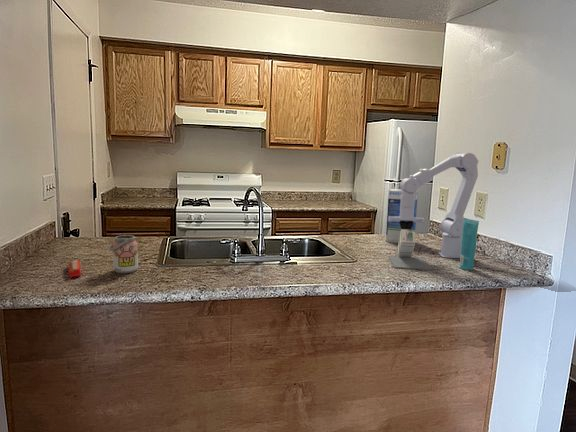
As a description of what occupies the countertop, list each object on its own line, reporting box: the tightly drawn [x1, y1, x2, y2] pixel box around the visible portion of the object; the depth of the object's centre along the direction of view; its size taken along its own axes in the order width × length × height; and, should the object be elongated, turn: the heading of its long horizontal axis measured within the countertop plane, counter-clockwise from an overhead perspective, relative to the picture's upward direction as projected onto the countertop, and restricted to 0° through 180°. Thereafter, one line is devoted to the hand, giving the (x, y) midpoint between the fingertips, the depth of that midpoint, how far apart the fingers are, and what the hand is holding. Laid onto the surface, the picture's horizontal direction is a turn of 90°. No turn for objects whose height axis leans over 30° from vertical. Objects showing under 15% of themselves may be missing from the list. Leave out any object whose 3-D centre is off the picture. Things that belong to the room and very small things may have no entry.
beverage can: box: [108, 234, 139, 274], centre depth 140 cm, size 9×8×12 cm
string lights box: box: [385, 188, 419, 244], centre depth 198 cm, size 13×8×26 cm, turn 66°
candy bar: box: [68, 259, 82, 278], centre depth 138 cm, size 16×4×3 cm, turn 28°
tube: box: [459, 217, 480, 271], centre depth 154 cm, size 7×5×19 cm, turn 26°
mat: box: [388, 255, 433, 271], centre depth 161 cm, size 14×16×1 cm
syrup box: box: [397, 229, 416, 257], centre depth 165 cm, size 6×6×14 cm
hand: (404, 238), depth 171 cm, fingers closed
